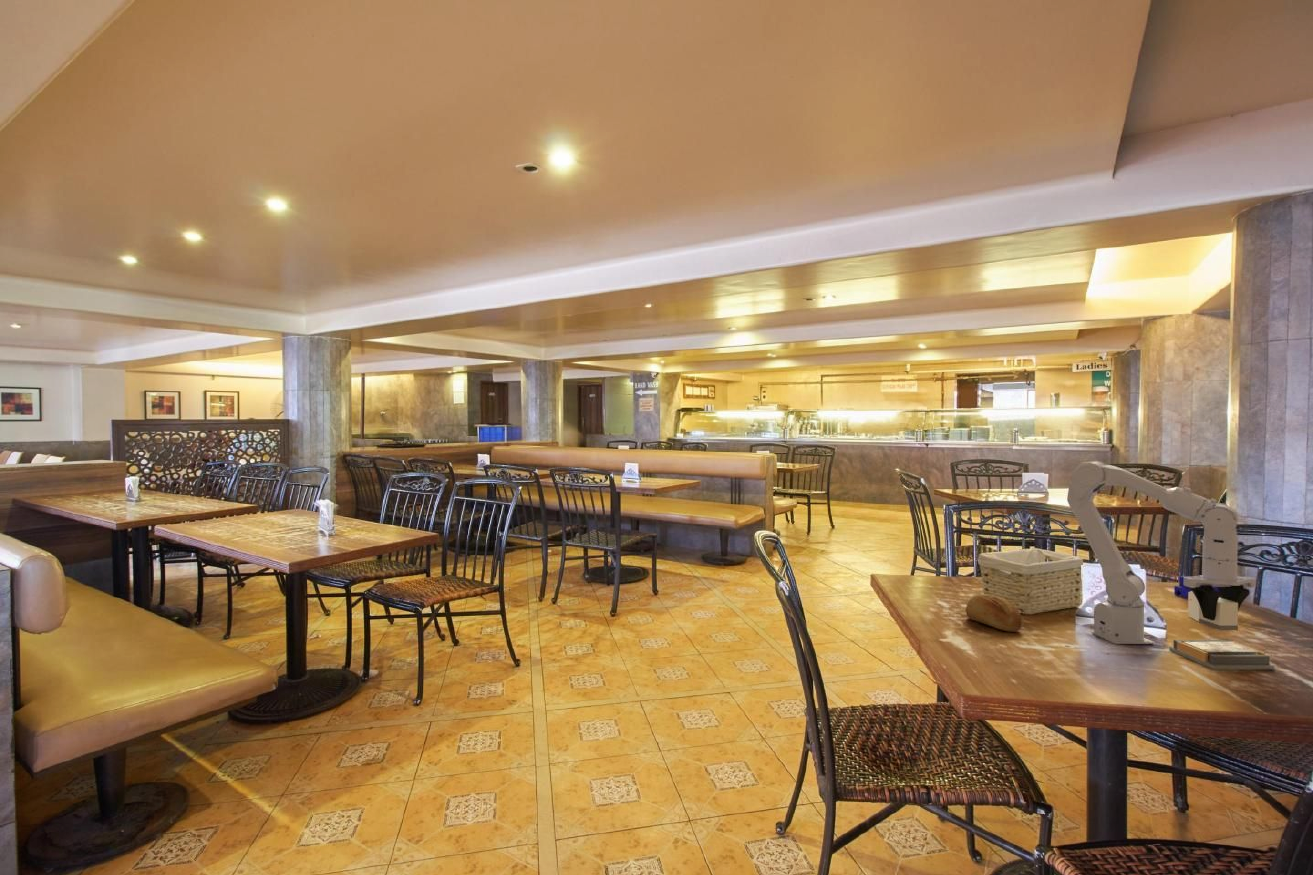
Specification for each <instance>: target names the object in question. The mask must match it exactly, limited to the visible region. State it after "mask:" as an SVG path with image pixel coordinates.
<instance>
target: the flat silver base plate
mask: <svg viewBox="0 0 1313 875" xmlns="http://www.w3.org/2000/svg"><path fill="white" fill-rule="evenodd" d="M1234 642H1235V641H1234ZM1234 642H1231V641H1229V642H1183V643H1185V644H1187V645H1190V646H1192V647H1195V648H1197V649H1199V650H1202V651H1204V652H1207V653H1208V656H1209V655H1258V651H1255V650H1253V649H1254V648H1253V649H1250V648H1247V647H1245V646H1246V645H1245V646H1242V645H1243V644H1242V645H1239V644H1237V643H1238V642H1237V643H1234Z"/></svg>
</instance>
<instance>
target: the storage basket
mask: <svg viewBox="0 0 1313 875" xmlns="http://www.w3.org/2000/svg"><path fill="white" fill-rule="evenodd" d="M978 559H979V560H978V562H979V568H980V573H981V581H982V584H981V585H982V589H983V595H984V594H989V595H995V596H999V597H1002V598H1004V599H1006V600H1007V601H1009V602H1010V603H1012V604H1013V605H1014V606H1015V607H1016V608H1017V610H1018V611H1019V612H1020V613H1023V614H1022V615H1027V614H1028V615H1035V614H1040V613H1047V612H1054V611H1060V609H1061V610H1064V609H1066V608H1067V609H1070V608H1075V607H1079V606H1080V605H1081V603H1080V601H1081V593H1082V592H1081V591H1082V590H1081V589H1082V579H1081V565H1083V563H1084V559H1083V557H1082V556H1076V555H1071V554H1067V553H1062V552H1058V551H1052V550H1048V549H1041V548H1037V547H1033V548H1022V549H1016V550H1015V549H1014V550H1007V551H1004V550H1003V551H993V552H992V551H991V552H981V553H979V554H978ZM1046 560H1047V561H1046ZM1048 560H1049V561H1048ZM1034 613H1035V614H1034Z"/></svg>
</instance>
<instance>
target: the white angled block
mask: <svg viewBox="0 0 1313 875" xmlns="http://www.w3.org/2000/svg"><path fill="white" fill-rule="evenodd" d="M1187 602H1188V604H1187V605H1188V606H1187V608H1188V609H1187V617H1188V616H1189V618H1190V617H1191V618H1190V619H1192V618H1193V619H1192V620H1194V619H1195V621H1197V622H1199V602H1198V600H1197V598H1196V596H1195V595H1194V593H1193V592H1192V591H1190V592H1188V599H1187Z"/></svg>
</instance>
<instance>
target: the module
mask: <svg viewBox="0 0 1313 875" xmlns="http://www.w3.org/2000/svg"><path fill="white" fill-rule="evenodd" d="M1198 623H1199V624H1201V625H1203V626H1206V627H1210V628H1213V629H1216V630H1219V631H1238V630H1239V610H1238V603H1237V602H1233V601H1230V600H1226V599H1223V598H1220V597H1219V599H1218V602H1217V606H1216V617H1215V620H1209V619H1206V618H1204V617H1203V614H1202V611H1201V608H1200V605H1199V621H1198Z"/></svg>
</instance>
